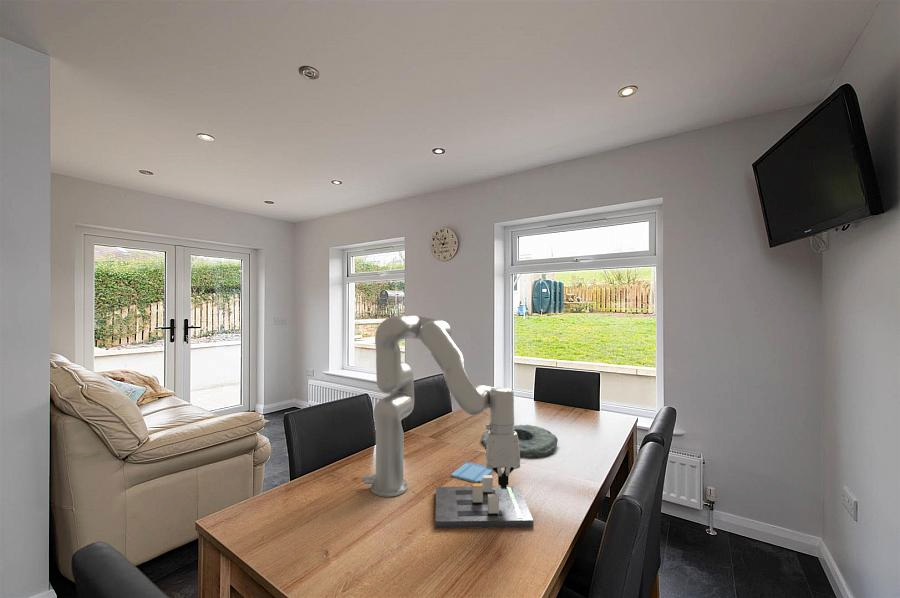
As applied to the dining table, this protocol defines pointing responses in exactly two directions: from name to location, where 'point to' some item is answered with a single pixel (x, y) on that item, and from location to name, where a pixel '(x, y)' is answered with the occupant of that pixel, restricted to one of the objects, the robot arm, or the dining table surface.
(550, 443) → the stone ring
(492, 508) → the block
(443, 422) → the dining table surface
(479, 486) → the block
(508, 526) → the panel
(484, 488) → the block
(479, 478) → the light blue flat plate
